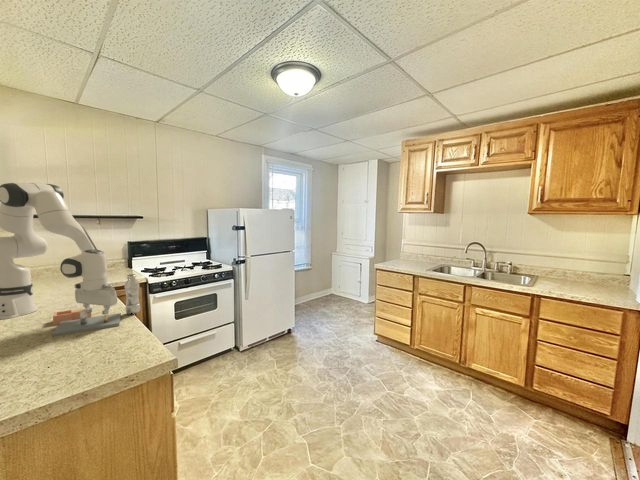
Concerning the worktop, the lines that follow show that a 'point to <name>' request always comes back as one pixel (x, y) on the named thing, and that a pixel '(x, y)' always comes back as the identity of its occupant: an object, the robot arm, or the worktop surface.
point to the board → (92, 324)
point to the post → (84, 317)
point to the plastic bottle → (132, 294)
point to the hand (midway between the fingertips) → (97, 313)
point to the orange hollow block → (67, 316)
